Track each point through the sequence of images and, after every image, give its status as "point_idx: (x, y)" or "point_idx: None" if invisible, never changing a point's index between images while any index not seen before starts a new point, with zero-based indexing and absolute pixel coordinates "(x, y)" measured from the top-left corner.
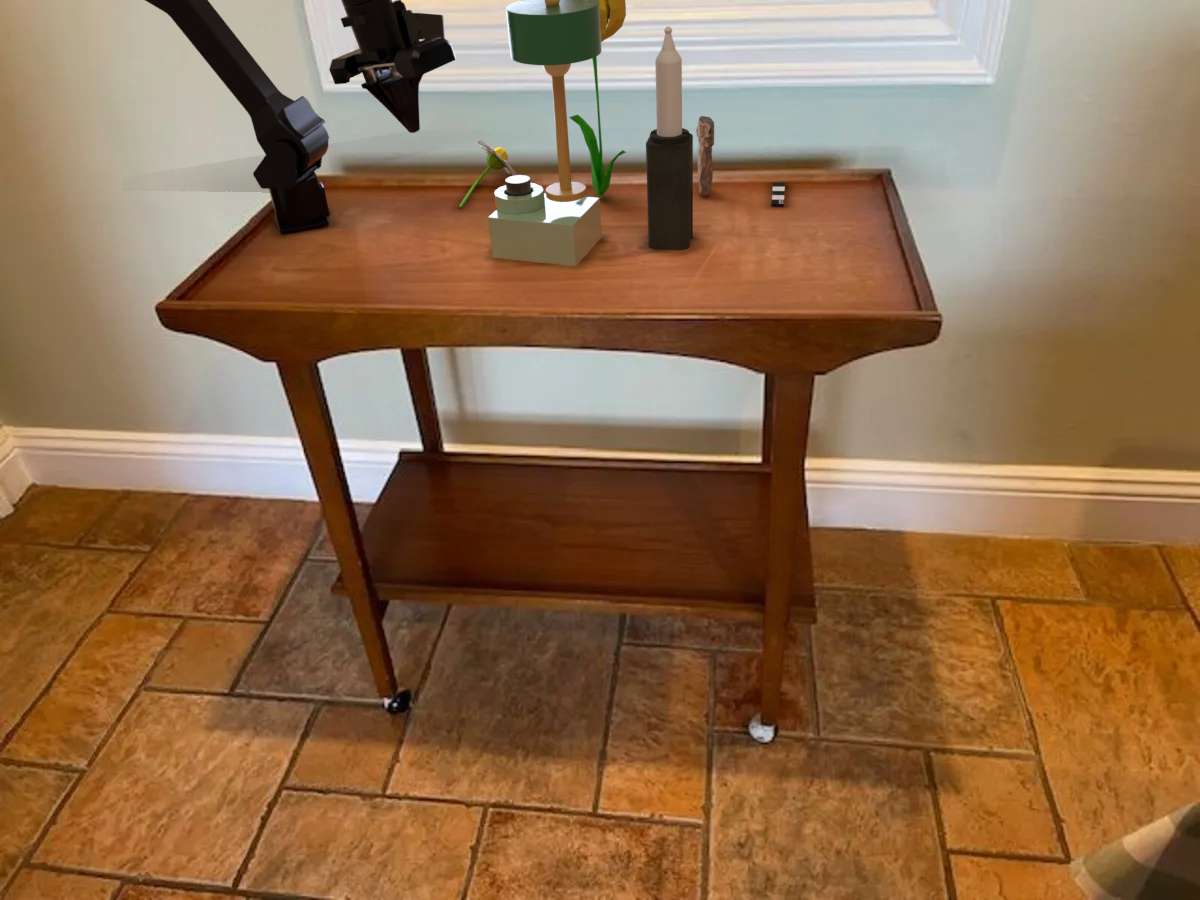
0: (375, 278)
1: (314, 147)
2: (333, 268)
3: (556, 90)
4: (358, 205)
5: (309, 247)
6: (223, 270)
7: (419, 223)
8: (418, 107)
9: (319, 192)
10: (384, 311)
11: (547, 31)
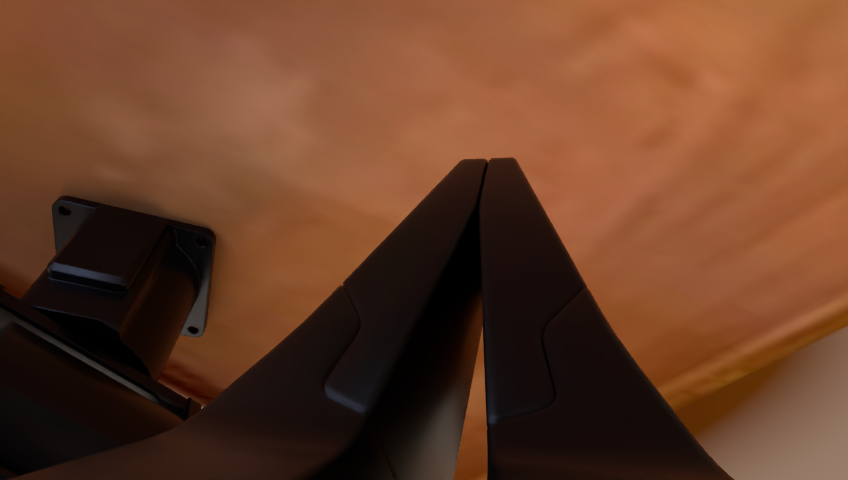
0: (647, 287)
1: (125, 443)
2: None
3: None
4: (63, 83)
5: None
6: None
7: (394, 5)
8: (570, 259)
9: (142, 288)
10: (802, 339)
11: None
